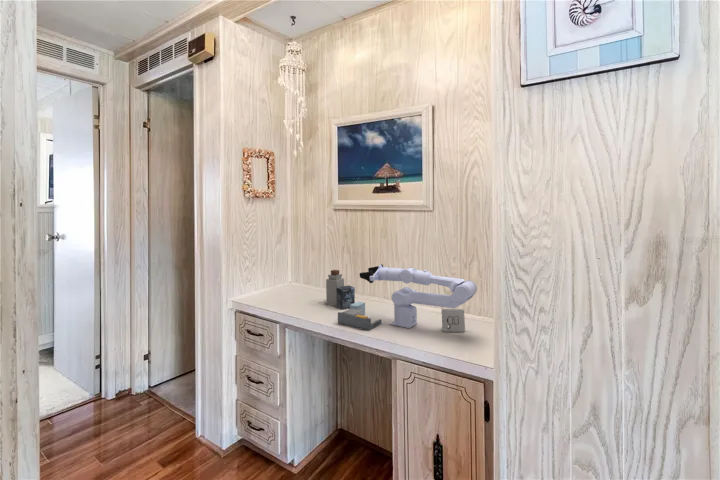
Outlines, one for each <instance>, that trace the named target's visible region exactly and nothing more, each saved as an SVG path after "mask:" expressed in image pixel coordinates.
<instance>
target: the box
mask: <svg viewBox="0 0 720 480" xmlns="http://www.w3.org/2000/svg"><path fill="white" fill-rule="evenodd" d="M336 288H337V306H336V308H338V309H339V310H348V309H350V305H351V304H353V303H356V301H355V299H356V296H355V294H356V293H355V292H356V290H355V287H354V286H351V285H350V284H348V285H344V286H342V287H336Z"/></svg>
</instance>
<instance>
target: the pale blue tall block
mask: <svg viewBox="0 0 720 480" xmlns="http://www.w3.org/2000/svg"><path fill="white" fill-rule="evenodd" d="M351 308H355V309H361V310H363V316H365V315H366V302H362V301H355V303H353V304H351V305H350V308H349V309H351Z"/></svg>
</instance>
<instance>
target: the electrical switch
mask: <svg viewBox="0 0 720 480" xmlns="http://www.w3.org/2000/svg"><path fill="white" fill-rule="evenodd" d="M465 324H466V323H465V310H464V309H463V308H441V331H442V332H444V333H445V332H446V333H447V332H448V333H465V331H466V325H465Z"/></svg>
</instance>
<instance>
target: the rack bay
mask: <svg viewBox="0 0 720 480" xmlns="http://www.w3.org/2000/svg"><path fill="white" fill-rule="evenodd" d="M382 321H383V320H382V319H381V318H378V319H377V320H375V321H372V318H370V317H368V316H367V315H366V316H365V315H364V316H363V310H361V309H355V308H351V309H350V308H348V309H346V310H345V311H343V312H340V311H339V312H337V325H341V326H346V327H350V328H355V329H360V330H363V331H371V330H373V329H375V328H377V327H379V326H381V325H382Z"/></svg>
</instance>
